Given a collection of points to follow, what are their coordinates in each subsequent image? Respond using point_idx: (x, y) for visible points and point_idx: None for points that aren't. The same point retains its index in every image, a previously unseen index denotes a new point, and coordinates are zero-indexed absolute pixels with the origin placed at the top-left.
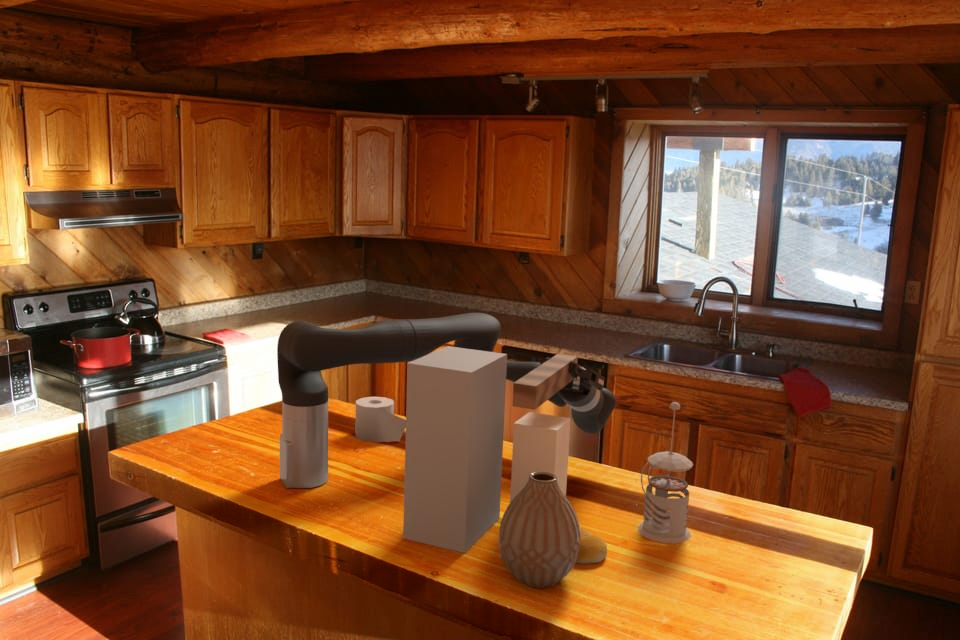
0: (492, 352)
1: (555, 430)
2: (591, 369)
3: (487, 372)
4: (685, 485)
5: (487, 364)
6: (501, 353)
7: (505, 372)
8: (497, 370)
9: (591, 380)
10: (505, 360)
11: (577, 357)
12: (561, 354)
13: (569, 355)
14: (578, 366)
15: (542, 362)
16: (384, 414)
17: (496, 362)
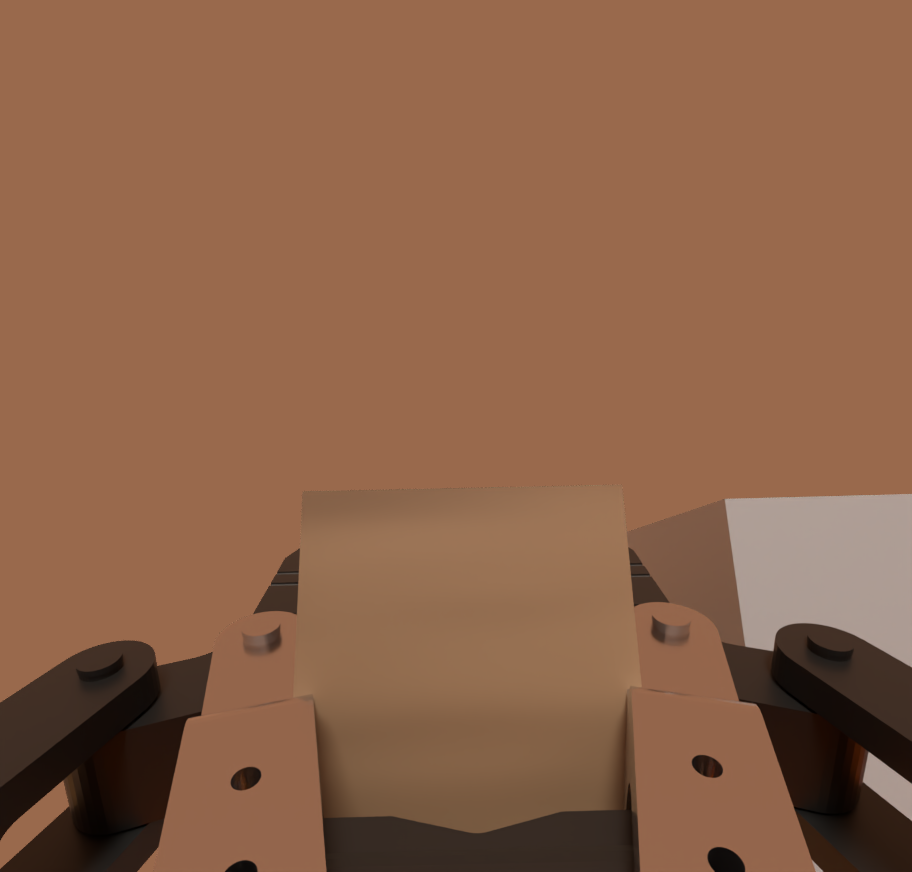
0: (810, 498)
1: None
2: (74, 661)
3: (641, 561)
4: None
5: (636, 529)
6: (756, 498)
7: (734, 612)
8: (680, 573)
9: (53, 827)
10: (719, 535)
11: (305, 508)
12: (557, 488)
13: (432, 490)
14: (279, 580)
15: (802, 625)
16: None
17: (668, 532)
